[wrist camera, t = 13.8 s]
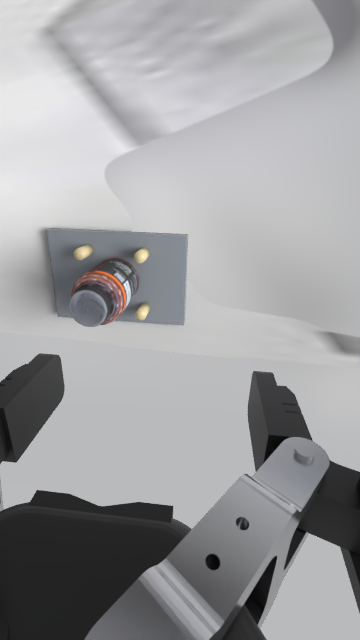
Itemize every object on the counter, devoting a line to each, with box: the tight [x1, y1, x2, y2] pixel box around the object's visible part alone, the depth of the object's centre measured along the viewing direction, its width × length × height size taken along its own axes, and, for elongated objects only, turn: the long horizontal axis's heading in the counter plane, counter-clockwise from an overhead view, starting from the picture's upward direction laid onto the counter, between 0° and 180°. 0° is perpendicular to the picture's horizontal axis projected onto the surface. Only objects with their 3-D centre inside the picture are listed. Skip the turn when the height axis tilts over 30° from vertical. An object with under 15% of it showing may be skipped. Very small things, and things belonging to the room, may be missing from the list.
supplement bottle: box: [69, 258, 139, 327], centre depth 36 cm, size 6×6×11 cm
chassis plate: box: [47, 228, 188, 325], centre depth 41 cm, size 12×18×4 cm, turn 88°
